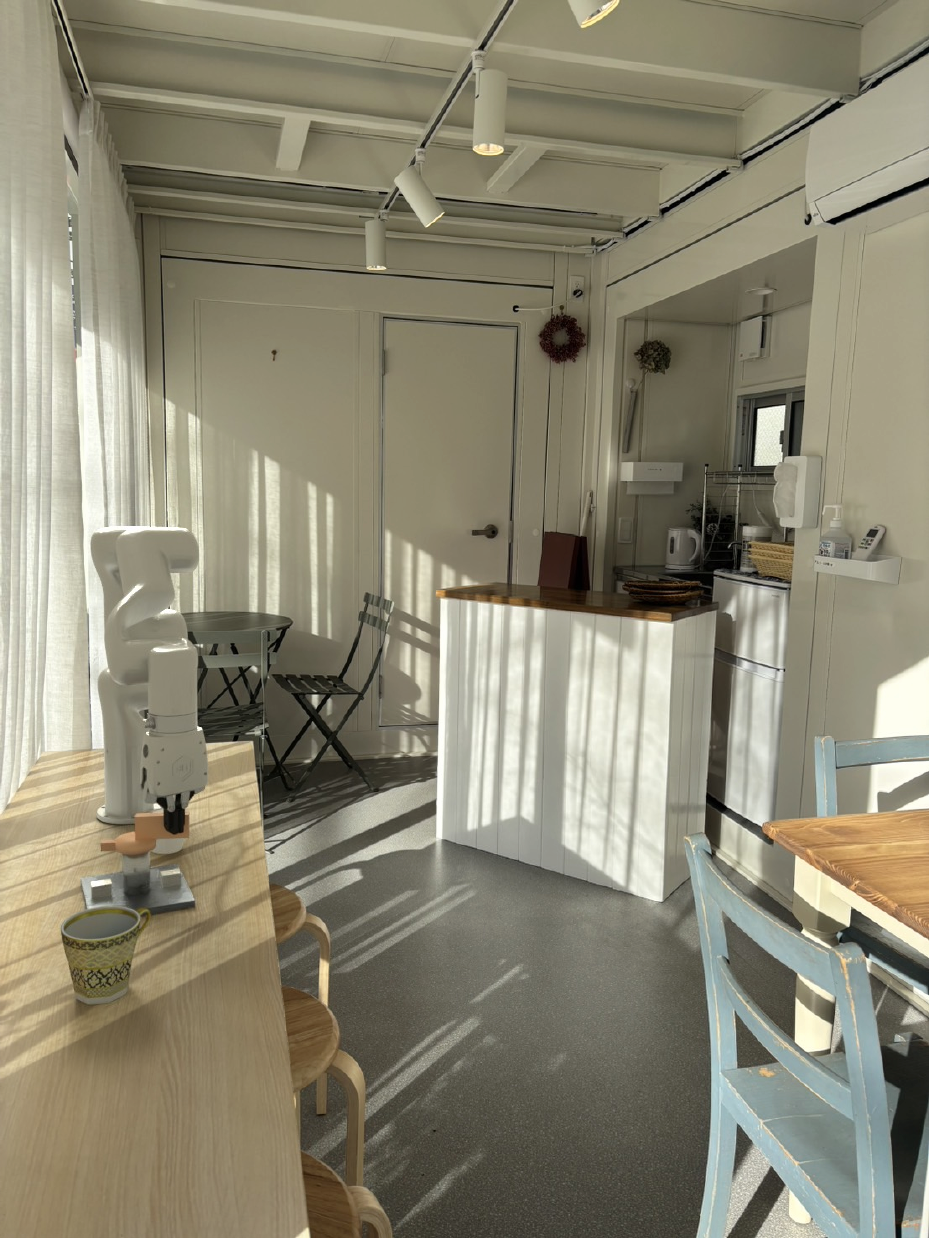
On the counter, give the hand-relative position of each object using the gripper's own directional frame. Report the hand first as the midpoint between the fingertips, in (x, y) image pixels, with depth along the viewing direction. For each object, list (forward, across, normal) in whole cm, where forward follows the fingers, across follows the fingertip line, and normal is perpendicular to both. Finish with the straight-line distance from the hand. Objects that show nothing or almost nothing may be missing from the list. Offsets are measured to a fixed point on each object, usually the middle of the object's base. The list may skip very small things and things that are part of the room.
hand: (174, 831), depth 152 cm
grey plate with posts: (+12, -4, +6) cm, 14 cm away
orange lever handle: (+4, -2, +5) cm, 7 cm away
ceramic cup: (+12, -20, -18) cm, 29 cm away
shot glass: (+12, +10, +21) cm, 26 cm away
